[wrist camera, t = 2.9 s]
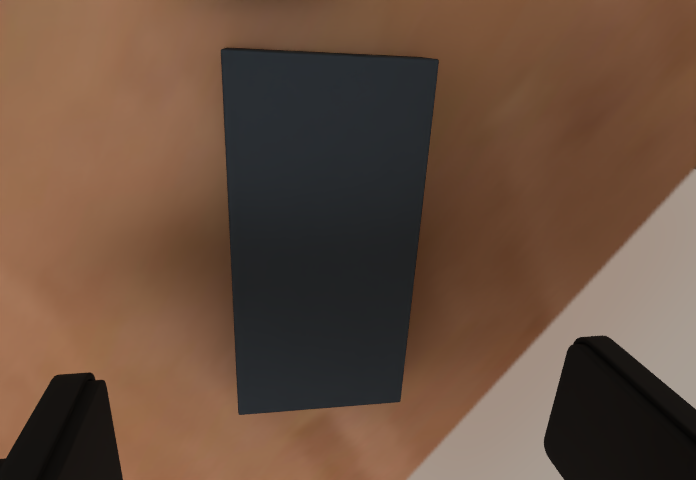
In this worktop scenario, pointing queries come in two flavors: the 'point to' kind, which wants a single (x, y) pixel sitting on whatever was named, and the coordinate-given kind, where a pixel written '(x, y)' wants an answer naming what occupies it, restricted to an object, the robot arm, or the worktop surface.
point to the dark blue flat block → (323, 221)
